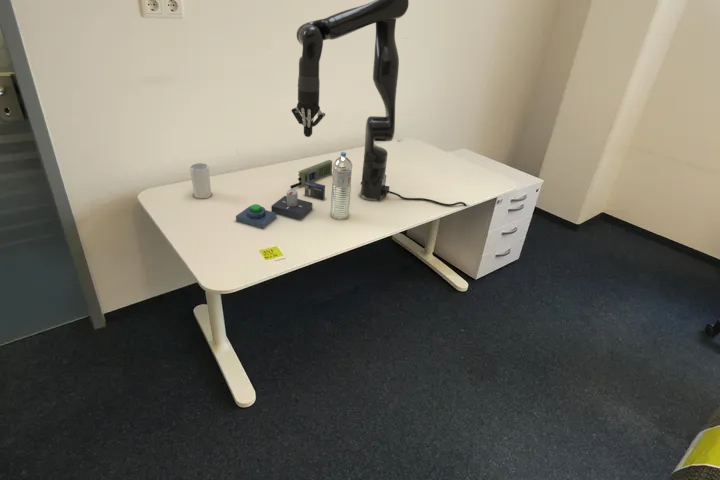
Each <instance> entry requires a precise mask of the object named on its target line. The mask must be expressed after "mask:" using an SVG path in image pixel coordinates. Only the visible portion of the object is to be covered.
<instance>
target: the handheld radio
mask: <svg viewBox="0 0 720 480" xmlns="http://www.w3.org/2000/svg"><path fill="white" fill-rule="evenodd" d="M331 175H333V160H332V159H327V160H325V161H322V162H319V163H316V164H314V165H312V166H309V167H306V168H303V169H301V170H298V178H297V180H298V182H297V183H294V184H292V185H290V186H289V187H290V190H293V189H294V188H297V187H299V188H303V187H305V182H306V181H310V182H314V183H316V182H317V181H319V180H322V179H324V178H326V177H329V176H331Z"/></svg>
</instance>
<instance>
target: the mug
mask: <svg viewBox="0 0 720 480" xmlns="http://www.w3.org/2000/svg"><path fill="white" fill-rule="evenodd" d="M209 167H210V166H209V164H207V163H205V162H196V163H192V164H190V166H189V171H190V177H191V183H192V190H193V195H194V197H195V198H196V199H207V198H210V197H211V196H212V188H211V178H210V176H211V175H210V168H209Z"/></svg>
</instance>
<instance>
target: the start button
mask: <svg viewBox="0 0 720 480" xmlns="http://www.w3.org/2000/svg"><path fill="white" fill-rule="evenodd" d="M250 206H251V212H253V213H258V212H261V207H262V205H261V204H259V203H258V204H257V203H255V204H251V205H250Z"/></svg>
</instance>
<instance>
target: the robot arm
mask: <svg viewBox="0 0 720 480" xmlns="http://www.w3.org/2000/svg"><path fill="white" fill-rule="evenodd" d="M409 5H410V3H409V0H373V1H371V2H368V3H366V4H362V5H359V6H355V7H353V8H349V9H346V10H343V11H339V12H337V13H334V14H331V15H330V16H327V17H325V18H321V19H315V20H312V21H309V22H305V23H303V24H302V25H300V26H299V27H298V29H297V30H296V34H295V35H296V40H297V43H299V45H301V46H302V51H301V56H300V57H299V58H298V59H299V60H298V77H297V104H296V107H293V108H292V109H291V113H292V115H293V116H294V118H295V119H296V121H297V123H298V124H299V125H302V127H303V135H304V137H306V138H310V137H311V136H312V135H313V127H316V126H317V125H318V124H319V123H320V122H321V121H322V120H323V119H324V118H325V116H326V113H325V112H323V111H322V110H321V107H320V89H321V88H320V83H321V81H320V62H321V57H322V54H323V53H322V52H323V47H324V41H326V40H329V41H330V40H332V41H333V40H337V39H339V38H342V37H344V36H347V35H349V34H351V33H354V32H356V31H359V30H361V29H363V28H365V27H367V26H371V25H373V24H375V40H374V41H375V42H374V56H373V66H372V67H373V68H372V82H373V84H374V87H375V89H376V90H377V92H378V95H379V96H380V99H381V101H382V102H383V106H384V111H385V116H368V117H367V118H366V122H365V135H364V137H365V138H364V139H365V140H364V151H363V152H364V153H363V163H362V174H361V175H362V176H361V181H360V198H362V199H364V200H366V201H371V202H374V201H376V202H381V200H382V199H383V198H384V197H387V195H388V194H391V195H394V196H397V197H399V198H400V199H402V200H405V201H425V202H431V203H434V204H437V205H441V206H445V207H452V206H453V207H454V206H457V205H463V206H465V207H467V204H466V203H465V202H463V201H457V202H453V203H446V202H445V203H444V202H439V201H437V200H434V199H430V198H424V197H405V196H402V195H401V194H399V193H397V192H394V191H391V190H390V186H389V185H386V182H387V174H386V171H387V162H388V155H389V154H388V151H387V149H385V148H383V147H382V146H379V145H377V144H375V142H391V141H392V140H393V139H394V136H395V129H396V100H397V99H396V98H397V87H398V79H399V71H400V70H399V67H400V57H399V52H398V48H397V45H396V44H397V43H396V23H397V20H398V19H400V18H402V17H403V16H404V15H405V14H406V13H407V11H408V9H409ZM316 115H317V116H316ZM315 117H316V118H315Z"/></svg>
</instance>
